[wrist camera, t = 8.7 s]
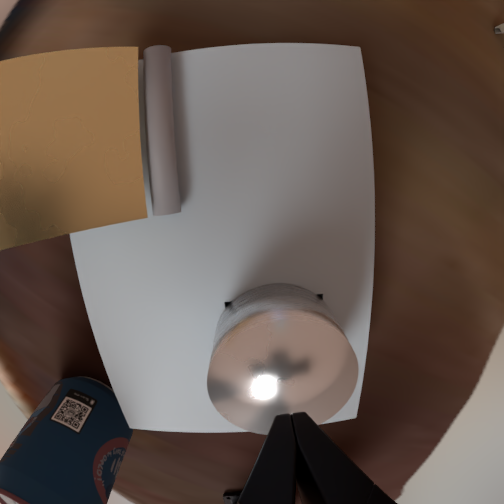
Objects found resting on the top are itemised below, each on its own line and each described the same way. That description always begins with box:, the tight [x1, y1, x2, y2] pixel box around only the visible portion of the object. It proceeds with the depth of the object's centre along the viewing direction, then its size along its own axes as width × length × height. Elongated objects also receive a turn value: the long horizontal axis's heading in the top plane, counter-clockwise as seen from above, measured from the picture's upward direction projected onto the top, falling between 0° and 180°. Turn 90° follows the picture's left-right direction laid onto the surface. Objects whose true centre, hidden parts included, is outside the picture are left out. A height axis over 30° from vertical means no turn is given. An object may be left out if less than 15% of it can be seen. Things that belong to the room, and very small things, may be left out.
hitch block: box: [70, 43, 375, 432], centre depth 13 cm, size 17×12×6 cm
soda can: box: [0, 376, 133, 504], centre depth 13 cm, size 7×7×12 cm
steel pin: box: [207, 283, 359, 435], centre depth 13 cm, size 5×5×8 cm
